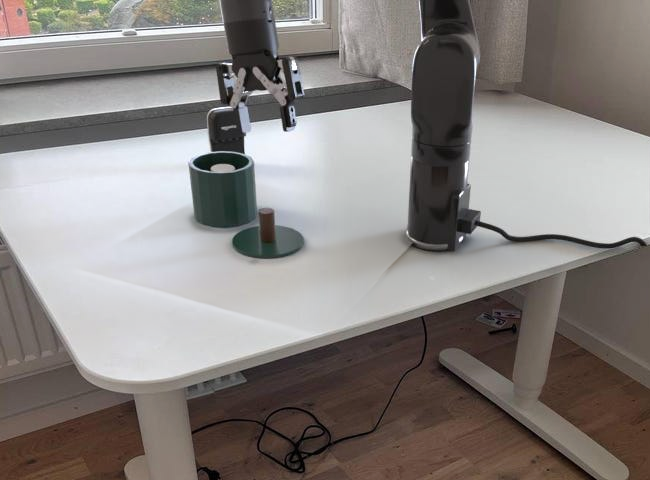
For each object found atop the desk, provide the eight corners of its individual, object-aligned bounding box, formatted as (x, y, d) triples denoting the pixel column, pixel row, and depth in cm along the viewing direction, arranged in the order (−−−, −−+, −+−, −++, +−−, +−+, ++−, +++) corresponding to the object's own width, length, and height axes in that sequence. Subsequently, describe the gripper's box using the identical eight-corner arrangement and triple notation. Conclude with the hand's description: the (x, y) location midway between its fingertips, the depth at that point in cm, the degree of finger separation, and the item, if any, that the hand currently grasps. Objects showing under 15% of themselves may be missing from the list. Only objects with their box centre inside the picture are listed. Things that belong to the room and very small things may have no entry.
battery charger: (217, 173, 151) (211, 114, 144) (210, 166, 153) (204, 108, 147) (250, 167, 154) (246, 109, 148) (243, 161, 157) (239, 104, 150)
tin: (268, 213, 136) (265, 157, 130) (235, 235, 128) (230, 177, 122) (218, 202, 139) (212, 147, 134) (182, 223, 131) (175, 166, 126)
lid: (316, 239, 128) (315, 204, 124) (281, 267, 119) (279, 231, 116) (257, 226, 131) (254, 191, 128) (218, 252, 123) (214, 216, 119)
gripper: (194, 24, 114) (216, 137, 121) (272, 14, 107) (290, 134, 114) (227, 21, 120) (246, 129, 126) (302, 12, 113) (318, 126, 120)
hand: (267, 131), depth 120 cm, fingers open, 8 cm apart
